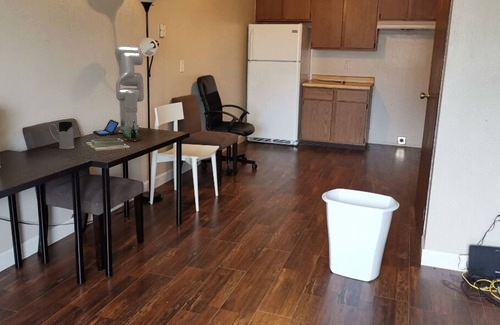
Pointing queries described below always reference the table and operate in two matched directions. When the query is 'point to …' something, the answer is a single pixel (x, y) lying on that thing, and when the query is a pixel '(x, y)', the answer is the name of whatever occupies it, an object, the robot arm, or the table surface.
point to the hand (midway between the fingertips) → (131, 137)
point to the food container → (128, 133)
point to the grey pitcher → (65, 135)
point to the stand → (107, 144)
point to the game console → (108, 129)
